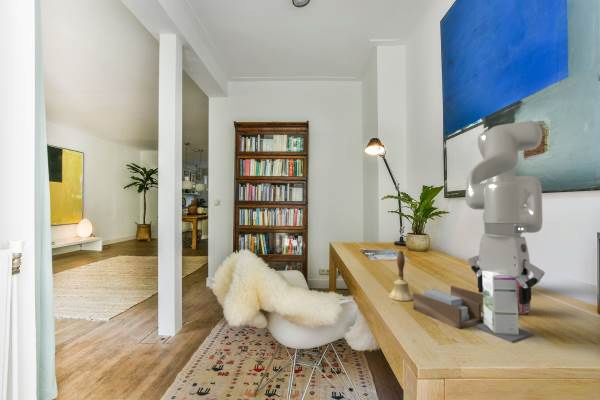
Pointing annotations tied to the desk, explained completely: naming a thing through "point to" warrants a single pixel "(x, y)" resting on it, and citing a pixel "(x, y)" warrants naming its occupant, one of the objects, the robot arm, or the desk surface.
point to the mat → (507, 337)
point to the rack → (452, 307)
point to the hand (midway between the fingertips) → (502, 297)
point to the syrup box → (500, 303)
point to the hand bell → (401, 283)
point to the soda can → (521, 308)
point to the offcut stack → (448, 301)
